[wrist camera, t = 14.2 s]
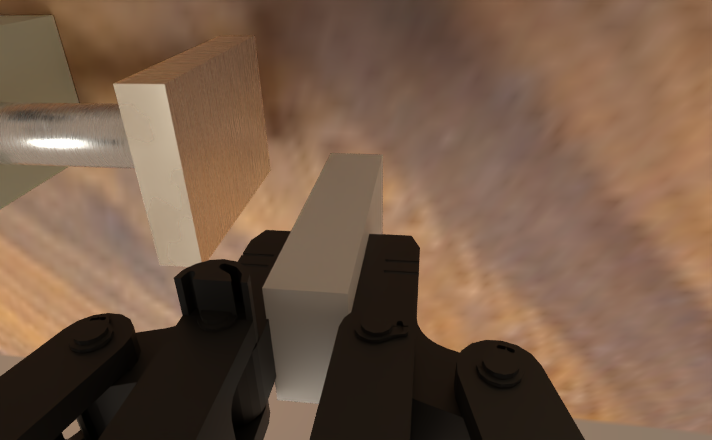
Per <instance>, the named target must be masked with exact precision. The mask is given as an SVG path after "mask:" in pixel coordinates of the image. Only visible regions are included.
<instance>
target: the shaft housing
mask: <svg viewBox="0 0 712 440" xmlns="http://www.w3.org/2000/svg"><path fill="white" fill-rule="evenodd" d="M0 102H21V103H79V101H78V97H77V94H76V91H75V87H74V84H73V81H72V77H71V74H70V71H69V67H68V64H67V60H66V57H65V54H64V50H63V47H62V44H61V40H60V37H59V33H58V30H57V27H56V23H55V20H54V17H53V15H12V16H0ZM67 167H69V166H42V165H11V164H0V209H2V208H3V207H5V206H6V205H8V204H10V203H11V202H13V201H14V200H16V199H18V198H19V197H21V196H22V195H24V194H26V193H27V192H29V191H31V190H32V189H34V188H35V187H37V186H39V185H40V184H42V183H43V182H45V181H47V180H48V179H50V178H51V177H53V176H55V175H56V174H58V173H59V172H61V171H63V170H64V169H66V168H67Z"/></svg>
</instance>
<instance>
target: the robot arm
mask: <svg viewBox="0 0 712 440" xmlns="http://www.w3.org/2000/svg"><path fill="white" fill-rule="evenodd" d="M382 228H383V155H378V154H343V153H331V154H330V156H329V158H328V160H327V162H326V164H325V166H324V168H323V169H322V171H321V173H320V175H319V177H318V179H317V181H316V183H315V185H314V187H313V189H312V191H311V193H310V195H309V197H308V199H307V201H306V203H305V205H304V207H303V209H302V211H301V213H300V215H299V217H298V219H297V221H296V223H295V225H294V227H293V228H292V230H291V231H274V230H265V231H264V232H263V233H261V234H260V235H258V236H257V237H255V238H254V239H252V240H251V241H250V243H249V244H248V246H247V248H246V249H245V251H244V252H243V255H242V256H241V257H240V259H239V260H238V262H236V261H231V260H225V259H221V260H208V261H204V262H201V263H197V264H194V265H192V266H190V267H188V268H186V269H184V270H182V271H181V272H180V273H179V274H178V275H177V276H175V277H174V281H175V285H176V289H177V293H178V298H179V302H180V306H181V310H182V314H183V316H182V318H181V319H180V320H179V322H178V323H177V325H176V326H174V327H170V328H165V329H158V330H152V331H145V332H138V333H135V329H134V326H133V324H132V322H131V320H130V319H129V318H127V317H125V316H123V315H121V314H112V313H106V314H99V315H93V316H90V317H87V318H84V319H82V320H79V321H77V322H75V323H73V324H72V325H70V326H68V327H67V328H65V329H63V330H62V331H61V332H59V333H58V334H57V335H55V336H54V337H53V338H51V339H50V340H49V341H47V342H46V343H45V344H43V345H42V346H41V347H39V348H38V349H37V350H35V351H34V352H32V353H31V354H30V355H28V356H27V357H26V358H24V359H23V360H22V361H20V362H19V363H18V364H16V365H15V366H14V367H12V368H11V369H10V370H8V371H7V372H6V373H4V374H3V375H2V376H0V440H263V439H264V436H265V433H266V430H267V427H268V424H269V417H270V410H269V403H268V398H269V395H270V392H271V390H272V387H273V385H274V382H275V386H276V393H277V400H284V401H294V402H304V403H315V404H319V406H318V409H317V413H316V417H315V421H314V425H313V428H312V432H311V436H310V440H585V439H584V438H583V436H582V434H581V432H580V430H579V429H578V427H577V425H576V424H575V422H574V420H573V419H572V417H571V415H570V413H569V412H568V410H567V408H566V407H565V405H564V403H563V401H562V400H561V398H560V396H559V395H558V393H557V391H556V390H555V388H554V386H553V384H552V383H551V381H550V379H549V378H548V376H547V374H546V372H545V371H544V369H543V367H542V366H541V364H540V363H539V362H538V361H537V360H536V359H535V358H534V356H533V355H532V354H530V353H529V352H527V351H526V350H524V349H522V348H521V347H519V346H517V345H514V344H511V343H507V342H504V341H496V340H484V341H480V342H476V343H472V344H470V345H469V346H467V347H466V348H465V349H463V350H462V351H461V353H459V352H456V351H453V350H450V349H447V348H445V347H442V346H440V345H438V344H436V343H434V342H433V341H431V340H430V339H428V338H427V337H426V336H425V335H424V334H423V332H422V331H421V330H420V328H419V326H418V324H417V300H418V277H419V255H420V247H419V246H418V244H417V243H416V242H415V240H414V239H413V237H412V236H405V235H385V234H382ZM75 419H77V422H78V424H79V426H80V429H81V430H80V431H79V432H78V433H76V434H75V435H73V436H72V437H71V438H69V439H64V437H63V434H62V432H63V430H65V429H66V428H67V427H68V426H69V425H70V424H71V423H72V422H73V421H74V420H75Z"/></svg>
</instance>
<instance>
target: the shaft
mask: <svg viewBox="0 0 712 440" xmlns="http://www.w3.org/2000/svg"><path fill="white" fill-rule="evenodd" d="M113 86H114V90H115V93H116V97H117V101H118V104H90V103H21V102H0V164H11V165H42V166H74V167H105V168H135V171H136V175H137V179H138V182H139V186H140V190H141V194H142V198H143V202H144V206H145V209H146V213H147V217H148V221H149V225H150V229H151V233H152V237H153V240H154V244H155V248H156V252H157V256H158V260H159V264H160V265H166V266H183V267H190V266H192V265H194V264H197V263H201V262H204V261H208V260H209V258H210V257H211V255H212V254H213V252H214V251H215V250H216V248H217V247H218V245H219V244H220V242H221V241H222V239H223V238H224V237H225V235H226V234H227V232H228V231H229V229H230V228H231V227H232V225H233V224H234V222H235V221H236V219H237V218H238V217H239V215H240V214H241V212H242V211H243V209H244V208H245V207H246V205H247V204H248V202H249V201H250V199H251V198H252V197H253V195H254V194H255V192H256V191H257V189H258V188H259V186H260V185H261V184H262V182H263V181H264V179H265V178H266V176H267V175H268V174H269V172H270V171H271V170H270V161H269V152H268V144H267V135H266V127H265V118H264V109H263V101H262V92H261V84H260V75H259V66H258V58H257V49H256V40H255V35H224V36H218V37H215V38H213V39H211V40H209V41H207V42H204V43H202V44H200V45H198V46H195V47H193V48H191V49H189V50H187V51H184V52H182V53H180V54H178V55H175V56H173V57H171V58H169V59H167V60H164V61H162V62H160V63H158V64H156V65H153V66H151V67H149V68H147V69H144V70H142V71H140V72H138V73H136V74H133V75H131V76H129V77H127V78H124V79H122V80H120V81H118V82H116V83H113Z"/></svg>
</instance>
